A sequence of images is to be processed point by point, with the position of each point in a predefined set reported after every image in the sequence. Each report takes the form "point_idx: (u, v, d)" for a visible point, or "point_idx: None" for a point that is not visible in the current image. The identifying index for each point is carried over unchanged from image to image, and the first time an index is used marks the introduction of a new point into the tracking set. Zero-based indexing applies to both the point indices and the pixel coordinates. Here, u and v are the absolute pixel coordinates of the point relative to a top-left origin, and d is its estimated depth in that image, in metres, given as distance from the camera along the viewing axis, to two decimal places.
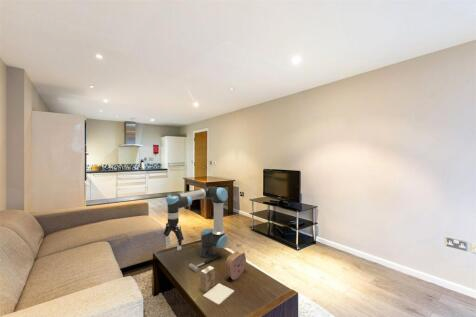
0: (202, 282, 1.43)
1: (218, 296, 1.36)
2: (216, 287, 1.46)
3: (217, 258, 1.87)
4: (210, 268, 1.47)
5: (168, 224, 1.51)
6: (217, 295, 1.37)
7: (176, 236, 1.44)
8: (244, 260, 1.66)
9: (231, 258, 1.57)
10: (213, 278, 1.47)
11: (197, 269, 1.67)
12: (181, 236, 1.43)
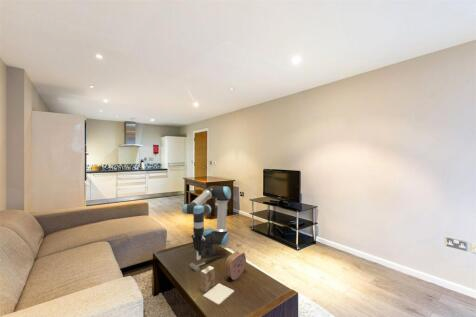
0: (202, 282, 1.43)
1: (218, 296, 1.36)
2: (216, 287, 1.46)
3: (218, 258, 1.87)
4: (210, 268, 1.47)
5: (193, 235, 1.53)
6: (217, 295, 1.37)
7: (198, 245, 1.49)
8: (244, 260, 1.66)
9: (231, 258, 1.57)
10: (213, 278, 1.47)
11: (198, 269, 1.67)
12: (202, 247, 1.48)
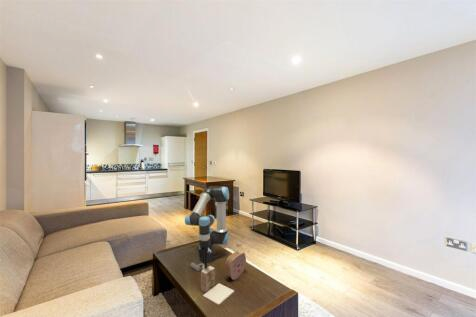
0: (202, 282, 1.43)
1: (218, 296, 1.36)
2: (216, 287, 1.46)
3: (218, 257, 1.88)
4: (210, 268, 1.47)
5: (199, 247, 1.50)
6: (217, 295, 1.37)
7: (204, 258, 1.46)
8: (244, 260, 1.66)
9: (231, 258, 1.57)
10: (213, 278, 1.47)
11: (199, 268, 1.68)
12: (208, 260, 1.45)
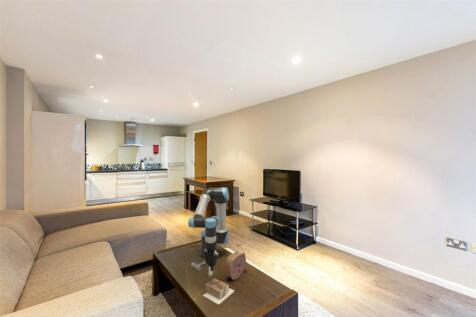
0: (211, 290, 1.38)
1: None
2: None
3: (218, 257, 1.89)
4: (226, 291, 1.38)
5: (205, 249, 1.46)
6: None
7: (210, 261, 1.42)
8: (244, 260, 1.66)
9: (231, 258, 1.57)
10: None
11: (199, 268, 1.69)
12: (215, 262, 1.42)
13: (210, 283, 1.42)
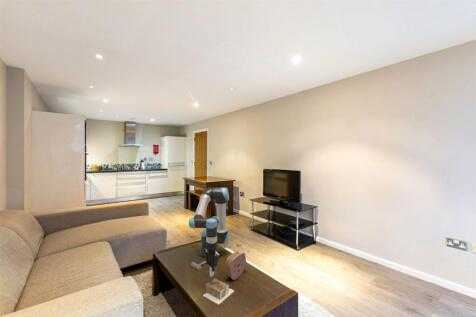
0: (211, 290, 1.38)
1: None
2: None
3: None
4: (226, 291, 1.38)
5: (206, 250, 1.46)
6: None
7: (211, 261, 1.42)
8: (244, 260, 1.66)
9: (231, 258, 1.57)
10: None
11: (200, 267, 1.69)
12: (216, 263, 1.41)
13: (210, 283, 1.42)
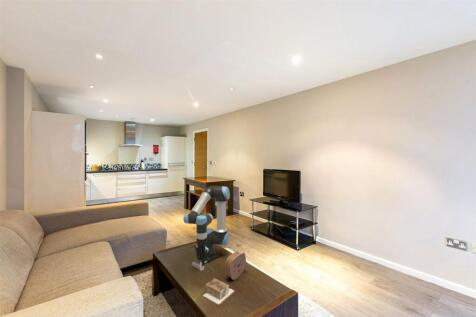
0: (211, 290, 1.38)
1: None
2: None
3: (219, 256, 1.90)
4: (226, 291, 1.38)
5: (196, 245, 1.52)
6: None
7: (201, 256, 1.48)
8: (244, 260, 1.66)
9: (231, 258, 1.57)
10: None
11: None
12: (206, 258, 1.47)
13: (210, 283, 1.42)
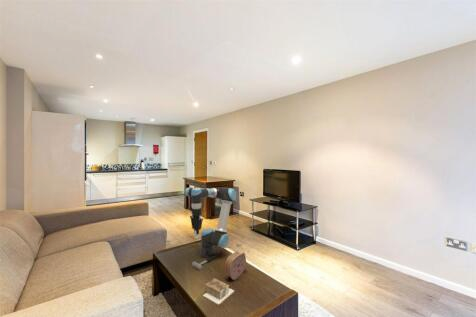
0: (211, 290, 1.38)
1: None
2: None
3: None
4: (226, 291, 1.38)
5: (192, 215, 1.63)
6: None
7: (196, 225, 1.59)
8: (244, 260, 1.66)
9: (231, 258, 1.57)
10: None
11: (201, 267, 1.70)
12: (200, 226, 1.59)
13: (210, 283, 1.42)
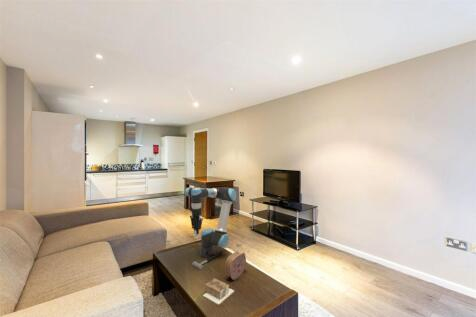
0: (211, 290, 1.38)
1: None
2: None
3: (219, 255, 1.92)
4: (226, 291, 1.38)
5: (191, 215, 1.63)
6: None
7: (196, 225, 1.60)
8: (244, 260, 1.66)
9: (231, 258, 1.57)
10: None
11: (201, 266, 1.71)
12: (200, 226, 1.59)
13: (210, 283, 1.42)
